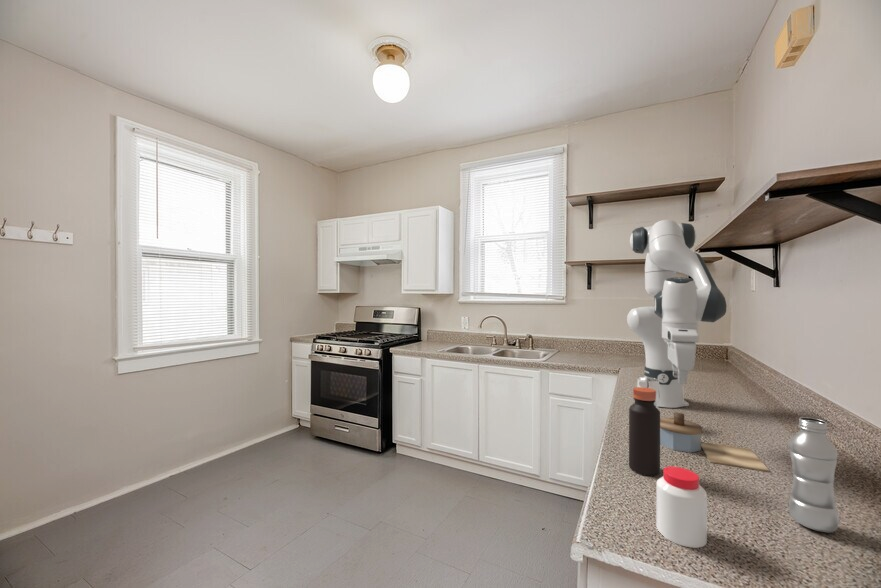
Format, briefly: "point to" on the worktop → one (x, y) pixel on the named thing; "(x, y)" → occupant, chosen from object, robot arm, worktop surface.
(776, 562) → the worktop surface
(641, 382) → the beer glass
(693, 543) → the pill bottle
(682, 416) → the lid
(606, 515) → the worktop surface
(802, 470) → the plastic bottle
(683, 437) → the bowl
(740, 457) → the tan flat square piece
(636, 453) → the vinegar
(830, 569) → the worktop surface
